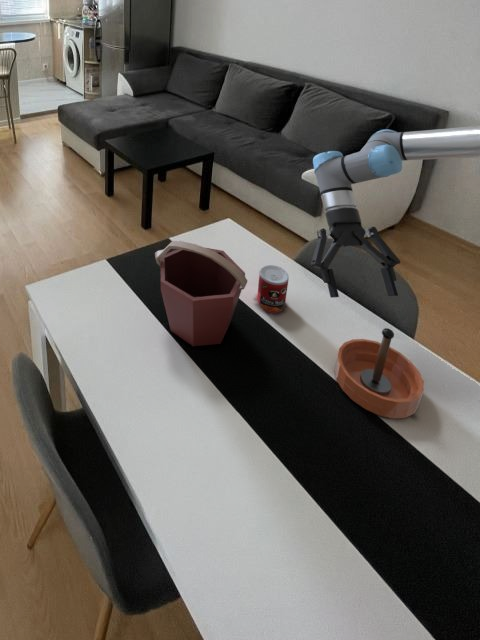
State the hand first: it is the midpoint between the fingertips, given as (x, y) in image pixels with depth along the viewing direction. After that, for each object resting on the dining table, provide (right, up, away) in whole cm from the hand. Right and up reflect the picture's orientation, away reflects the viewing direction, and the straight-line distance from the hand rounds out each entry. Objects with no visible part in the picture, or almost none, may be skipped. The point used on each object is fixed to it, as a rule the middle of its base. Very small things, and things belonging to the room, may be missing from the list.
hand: (363, 296), depth 103 cm
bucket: (-35, -15, +20) cm, 42 cm away
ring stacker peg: (+1, -20, -2) cm, 20 cm away
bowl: (+1, -20, -2) cm, 21 cm away
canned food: (-12, -11, +24) cm, 29 cm away
